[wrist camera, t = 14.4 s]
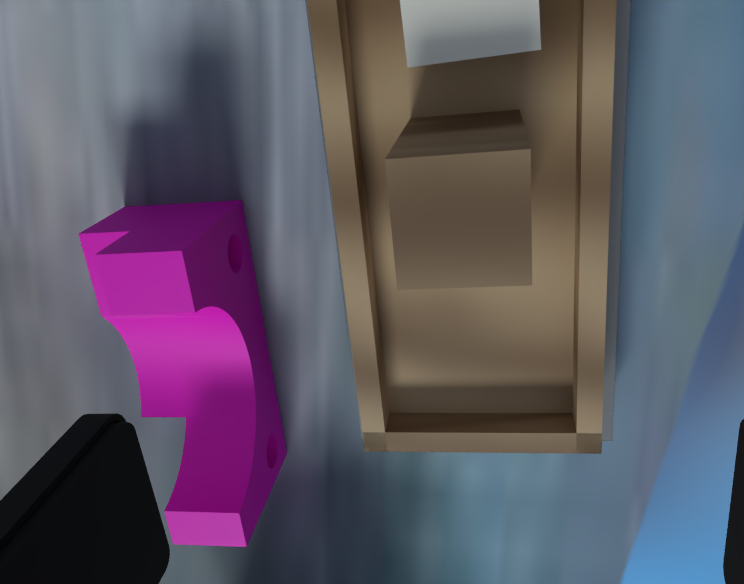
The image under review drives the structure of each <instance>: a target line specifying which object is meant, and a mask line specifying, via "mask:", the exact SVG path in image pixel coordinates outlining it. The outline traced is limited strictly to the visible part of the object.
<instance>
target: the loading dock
mask: <svg viewBox="0 0 744 584" xmlns="http://www.w3.org/2000/svg"><path fill="white" fill-rule="evenodd" d="M305 2H306V9H307V17H308V25H309V33H310V41H311V48H312V56H313V64H314V72H315V80H316V87H317V95H318V103H319V111H320V119H321V126H322V134H323V142H324V150H325V158H326V165H327V173H328V181H329V189H330V197H331V204H332V212H333V220H334V228H335V236H336V243H337V251H338V259H339V267H340V275H341V282H342V290H343V298H344V306H345V314H346V321H347V329H348V337H349V345H350V353H351V360H352V368H353V376H354V384H355V392H356V399H357V407H358V415H359V423H360V431H361V438H362V439H363V433H362V425H361V418H360V410H359V402H358V394H357V386H356V379H355V371H354V363H353V355H352V347H351V340H350V332H349V324H348V316H347V308H346V301H345V293H344V285H343V277H342V269H341V262H340V254H339V246H338V238H337V230H336V223H335V215H334V207H333V199H332V191H331V183H330V176H329V168H328V160H327V152H326V144H325V137H324V129H323V121H322V113H321V105H320V98H319V90H318V82H317V74H316V66H315V59H314V51H313V43H312V35H311V27H310V20H309V12H308V4H307V0H305ZM630 7H631V0H617V2H616V31H615V61H614V91H613V120H612V150H611V180H610V209H609V239H608V269H607V298H606V328H605V358H604V387H603V417H602V441H612V436H613V412H614V388H615V364H616V340H617V317H618V293H619V269H620V245H621V221H622V198H623V174H624V150H625V126H626V102H627V79H628V55H629V31H630Z"/></svg>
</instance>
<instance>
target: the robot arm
mask: <svg viewBox="0 0 744 584" xmlns="http://www.w3.org/2000/svg"><path fill="white" fill-rule="evenodd" d="M169 556H170V549H169V544H168V541H167V537H166V534H165V530H164V527H163V524H162V520H161V517H160V513H159V510H158V506H157V503H156V499H155V496H154V493H153V489H152V486H151V482H150V479H149V475H148V472H147V468H146V465H145V462H144V458H143V455H142V451H141V448H140V444H139V441H138V437H137V434H136V431H135V428H134V426H133V425H132V424H131V423H129V422H126V421H125V419H124V418H123V416H122V415H119V414H85V415H83V416H81V417H80V418H79V419H78V420H77V421H76V422H75V423H74V424H73V425H72V426H71V427H70V428H69V429H68V430H67V431H66V433H65V434H64V435H63V436H62V437H61V438H60V439H59V440H58V441H57V442H56V443H55V444H54V445H53V446H52V447H51V448H50V449H49V450H48V451H47V452H46V453H45V455H44V456H43V457H42V458H41V459H40V460H39V461H38V462H37V463H36V464H35V465H34V466H33V467H32V468H31V469H30V470H29V471H28V472H27V473H26V474H25V476H24V477H23V478H22V479H21V480H20V481H19V482H18V483H17V484H16V485H15V486H14V487H13V488H12V489H11V490H10V491H9V492H8V493H7V494H6V495H5V496H4V498H3V499H2V500H1V501H0V584H158V583H159V582H160V580H161V578H162V576H163V574H164V573H165V571H166V568H167V566H168V562H169ZM723 568H724V578H725V583H726V584H744V419H743V420H742V422H741V423H740V429H739V436H738V445H737V453H736V461H735V470H734V478H733V487H732V496H731V503H730V512H729V521H728V529H727V537H726V546H725V555H724V564H723Z"/></svg>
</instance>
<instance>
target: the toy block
mask: <svg viewBox="0 0 744 584" xmlns="http://www.w3.org/2000/svg"><path fill="white" fill-rule="evenodd" d="M79 237H80V241H81V244H82V248H83V252H84V255H85V259H86V262H87V266H88V270H89V273H90V277H91V280H92V284H93V288H94V291H95V295H96V298H97V302H98V306H99V309H100V313H101V316H102V317H104V318H105V319H107V320H108V321H109V322H110V323H111V324H112V325H113V326H114V327H115V328H116V329H117V330H118V331H119V333H120V334H121V336H122V337H123V339H124V341H125V342H126V344H127V346H128V348H129V351H130V353H131V355H132V358H133V361H134V364H135V368H136V372H137V376H138V381H139V387H140V396H141V417H186V432H185V442H184V450H183V455H182V461H181V465H180V470H179V474H178V477H177V481H176V484H175V487H174V490H173V493H172V495H171V498H170V500H169V502H168V505H167V507H166V509H165V511H164V512H165V516H166V519H167V523H168V527H169V530H170V534H171V538H172V541H173V544H182V545H209V546H236V547H247V545H248V542H249V540H250V538H251V535H252V533H253V531H254V529H255V526H256V524H257V522H258V519H259V517H260V515H261V512H262V510H263V508H264V505H265V503H266V501H267V498H268V496H269V494H270V491H271V489H272V487H273V485H274V482H275V480H276V478H277V475H278V473H279V471H280V468H281V466H282V464H283V461H284V459H285V457H286V454H287V451H286V446H285V440H284V434H283V429H282V423H281V418H280V412H279V406H278V401H277V395H276V389H275V384H274V378H273V372H272V367H271V361H270V356H269V350H268V344H267V339H266V333H265V327H264V322H263V316H262V310H261V305H260V299H259V294H258V288H257V282H256V277H255V271H254V265H253V260H252V254H251V249H250V243H249V237H248V232H247V226H246V220H245V215H244V209H243V203H242V200H235V201H218V202H200V203H183V204H165V205H148V206H130V207H123V208H122V209H120V210H118V211H117V212H115V213H113V214H112V215H110V216H108V217H106V218H105V219H103V220H101V221H100V222H98V223H96V224H94V225H93V226H91V227H89V228H88V229H86V230H84V231H83V232H81V233H79Z"/></svg>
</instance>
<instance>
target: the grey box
mask: <svg viewBox="0 0 744 584" xmlns="http://www.w3.org/2000/svg"><path fill="white" fill-rule="evenodd" d="M400 7H401V16H402V24H403V33H404V42H405V50H406V59H407V68H409V67H416V66H424V65H431V64H438V63H446V62H453V61H461V60H468V59H476V58H483V57H490V56H498V55H505V54H513V53H520V52H527V51H535V50H541V36H540V13H539V0H400Z"/></svg>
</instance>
